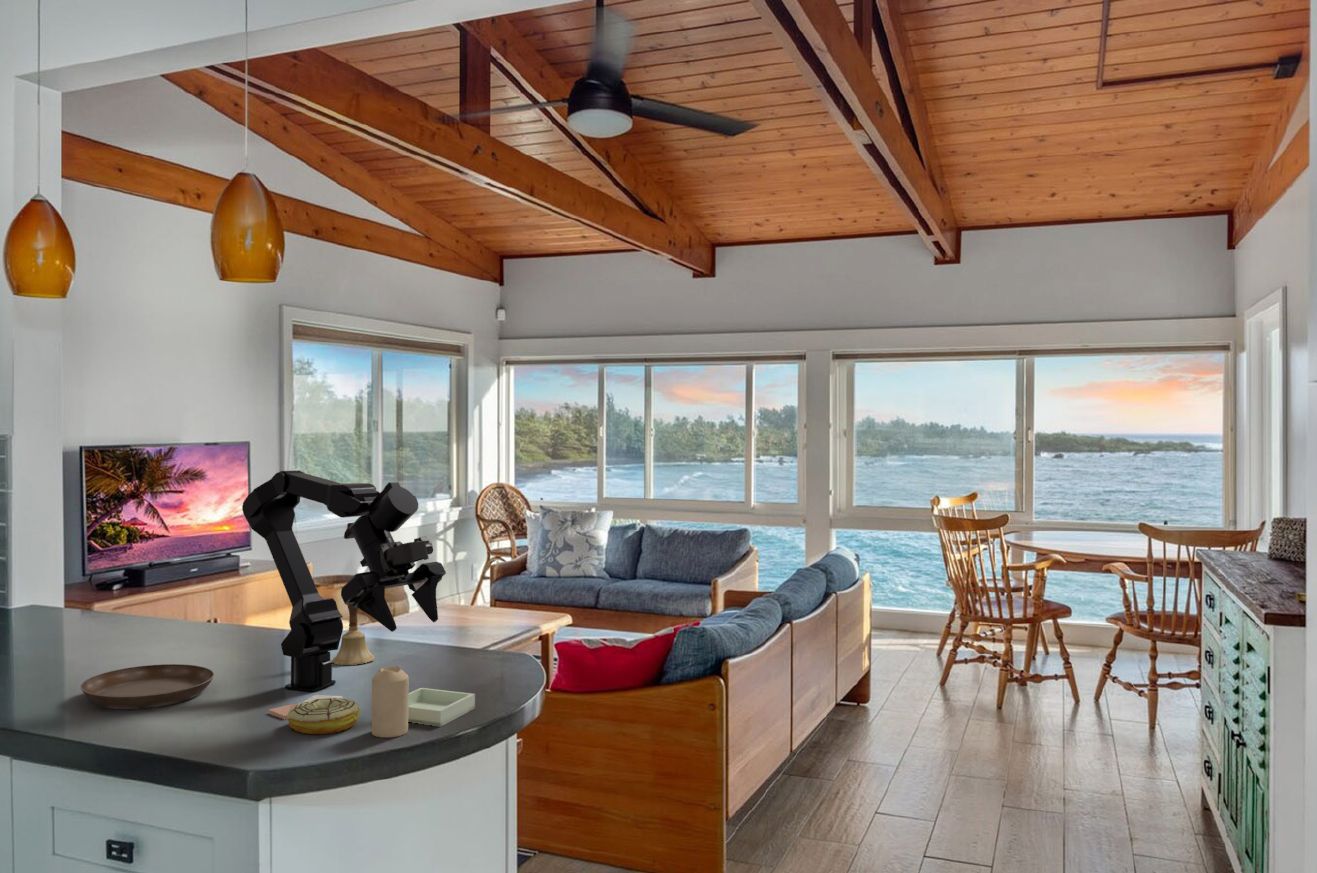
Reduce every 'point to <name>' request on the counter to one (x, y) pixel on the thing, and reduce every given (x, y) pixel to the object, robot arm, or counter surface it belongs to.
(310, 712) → the decorated donut
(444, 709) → the tray
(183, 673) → the plant saucer
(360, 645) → the hand bell
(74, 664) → the counter surface
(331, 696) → the tile white
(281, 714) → the tile terracotta
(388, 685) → the candle
